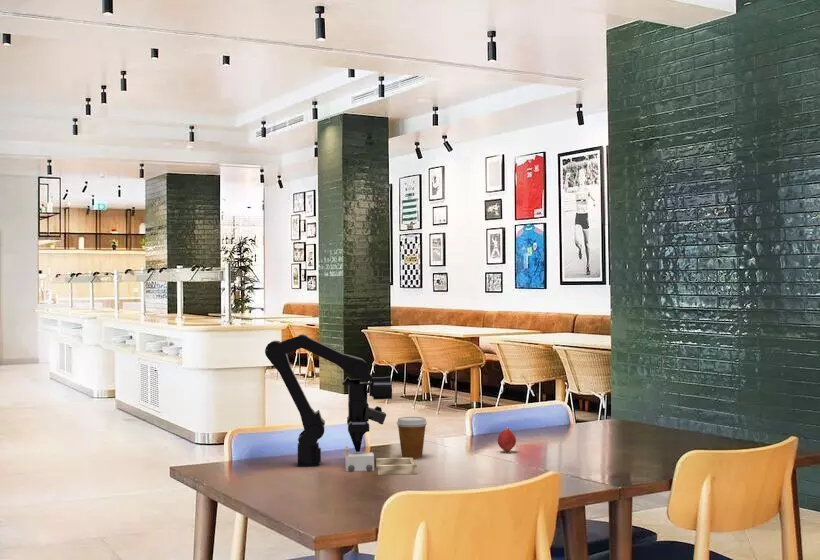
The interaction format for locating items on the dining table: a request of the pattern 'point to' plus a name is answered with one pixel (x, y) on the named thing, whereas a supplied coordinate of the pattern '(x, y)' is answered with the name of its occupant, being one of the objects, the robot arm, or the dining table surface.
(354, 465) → the trolley
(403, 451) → the disposable coffee cup
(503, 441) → the onion
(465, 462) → the dining table surface
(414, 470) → the bay
